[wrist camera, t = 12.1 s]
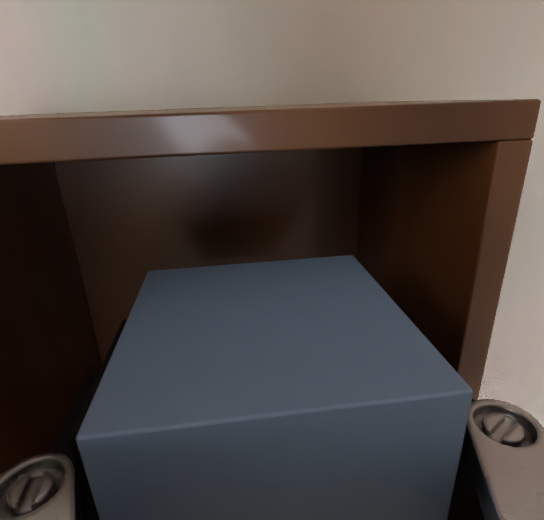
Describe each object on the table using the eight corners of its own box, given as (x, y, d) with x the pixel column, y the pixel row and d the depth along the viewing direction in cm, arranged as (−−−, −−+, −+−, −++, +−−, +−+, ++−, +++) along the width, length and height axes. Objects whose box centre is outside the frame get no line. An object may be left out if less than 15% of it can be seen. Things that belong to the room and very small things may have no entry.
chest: (376, 101, 17) (543, 98, 8) (360, 348, 21) (454, 512, 13) (29, 114, 15) (-221, 127, 7) (95, 375, 20) (1, 579, 11)
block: (353, 254, 10) (475, 391, 5) (345, 410, 12) (429, 614, 7) (147, 270, 10) (73, 439, 5) (174, 431, 12) (141, 666, 7)
